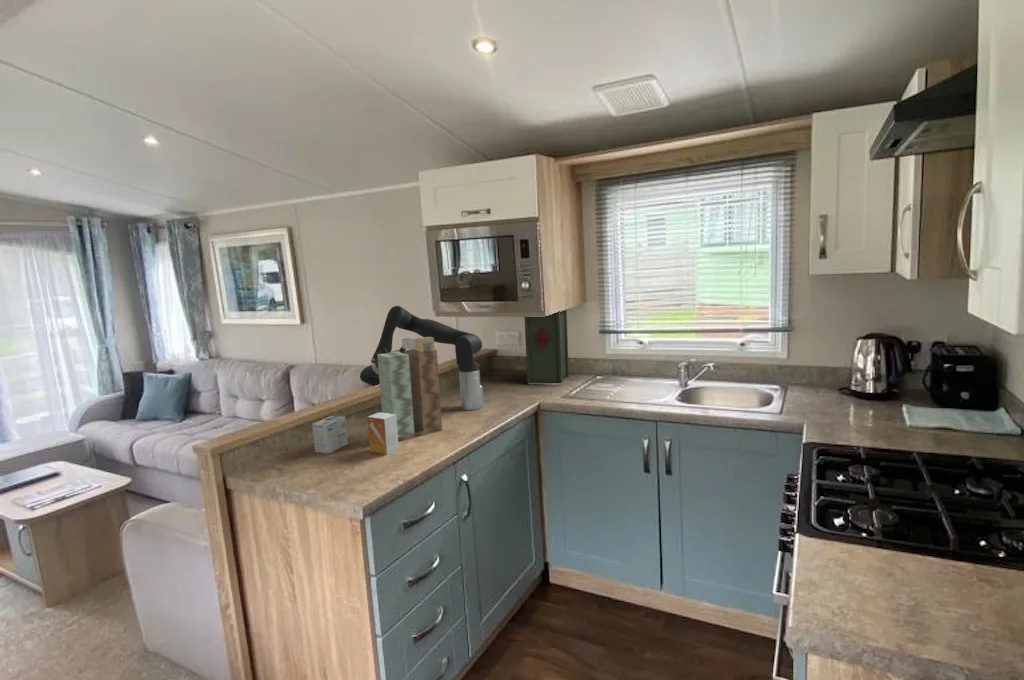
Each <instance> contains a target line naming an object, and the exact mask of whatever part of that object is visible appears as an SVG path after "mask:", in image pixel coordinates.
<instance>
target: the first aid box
mask: <svg viewBox="0 0 1024 680" xmlns="http://www.w3.org/2000/svg"><path fill="white" fill-rule="evenodd" d="M567 311H568V309H567V310H565V311H562V312H560V311H559V312H557V313H554V314H552V315H549V316H545V317H525V316H524V333H525V334H524V335H525V354H526V356H525V357H526V358H525V359H526V360H525V361H526V381H527V383H562V381H563V379H565V378H568V377H569V378H570V375H569V373H570V372H569V371H570V369H569V368H570V367H569V343H568V342H569V341H568V313H567Z"/></svg>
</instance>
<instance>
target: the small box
mask: <svg viewBox="0 0 1024 680" xmlns="http://www.w3.org/2000/svg"><path fill="white" fill-rule="evenodd" d="M367 425H368V426H367V427H368V441H369V451H370V452H371V453H376V454H381V455H386V456H388V455H390V454H392V453H394V452H396V451H398V450H400V448H399V441H398V432H397V420H396V414H389V413H382V411H381V412H376V413H374V414H371V415H369V416H367Z"/></svg>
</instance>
